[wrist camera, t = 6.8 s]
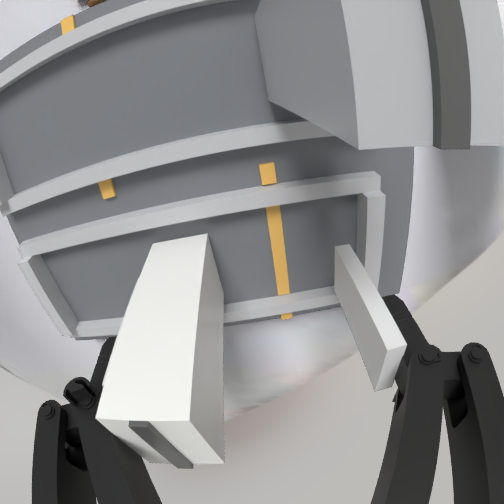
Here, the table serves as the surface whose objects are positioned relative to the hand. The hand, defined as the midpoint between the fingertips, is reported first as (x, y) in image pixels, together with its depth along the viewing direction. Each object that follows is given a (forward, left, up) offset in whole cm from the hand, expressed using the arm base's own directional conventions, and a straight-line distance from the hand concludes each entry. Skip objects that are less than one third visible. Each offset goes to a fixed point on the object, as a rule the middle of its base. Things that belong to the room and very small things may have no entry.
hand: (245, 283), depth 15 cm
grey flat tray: (-2, +5, -4) cm, 7 cm away
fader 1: (-3, 0, -2) cm, 4 cm away
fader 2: (+4, +10, -2) cm, 11 cm away
